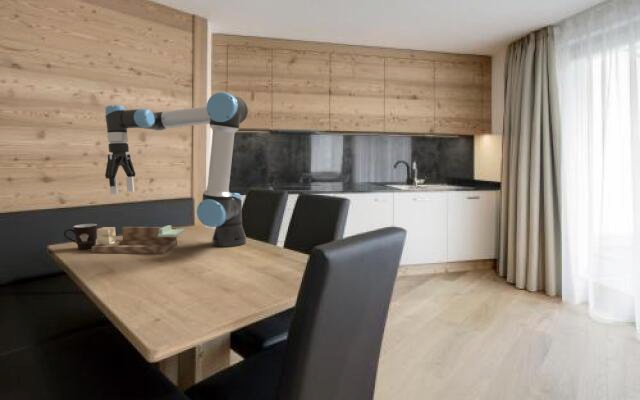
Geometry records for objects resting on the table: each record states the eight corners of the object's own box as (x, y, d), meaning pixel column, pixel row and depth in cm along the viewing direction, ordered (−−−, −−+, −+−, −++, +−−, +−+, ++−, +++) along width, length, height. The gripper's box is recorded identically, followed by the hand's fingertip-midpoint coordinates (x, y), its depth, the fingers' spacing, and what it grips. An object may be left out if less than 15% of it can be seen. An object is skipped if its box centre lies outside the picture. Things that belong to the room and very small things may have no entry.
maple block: (104, 240, 168) (103, 227, 168) (116, 240, 168) (115, 227, 167) (97, 243, 163) (96, 229, 163) (109, 243, 163) (108, 229, 162)
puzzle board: (177, 245, 173) (176, 227, 172) (163, 253, 159) (162, 233, 158) (111, 244, 174) (110, 226, 173) (92, 252, 160) (90, 233, 159)
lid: (184, 231, 170) (184, 224, 170) (174, 236, 159) (174, 229, 159) (169, 231, 171) (168, 224, 170) (157, 236, 160) (157, 229, 159)
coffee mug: (102, 246, 172) (101, 223, 170) (89, 251, 163) (87, 227, 162) (78, 245, 173) (76, 223, 172) (63, 250, 164) (61, 227, 163)
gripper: (124, 144, 177) (128, 190, 180) (92, 142, 153) (97, 195, 155) (140, 143, 177) (144, 190, 180) (110, 141, 153) (115, 195, 155)
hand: (122, 192), depth 167 cm, fingers open, 13 cm apart
